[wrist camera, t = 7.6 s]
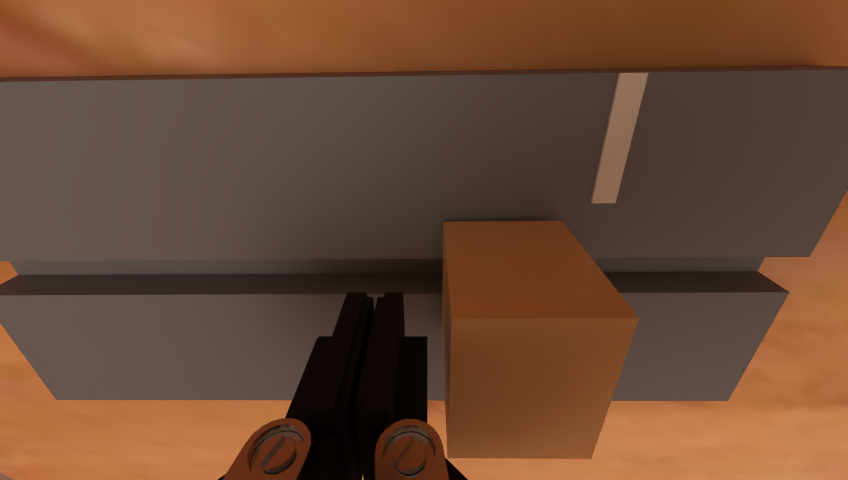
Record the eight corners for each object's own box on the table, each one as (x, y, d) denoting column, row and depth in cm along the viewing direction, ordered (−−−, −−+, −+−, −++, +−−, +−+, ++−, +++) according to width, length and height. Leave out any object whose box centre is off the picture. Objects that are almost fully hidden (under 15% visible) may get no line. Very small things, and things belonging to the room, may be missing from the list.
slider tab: (547, 202, 13) (639, 318, 8) (531, 308, 16) (591, 458, 10) (441, 203, 13) (451, 318, 8) (440, 308, 16) (447, 457, 10)
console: (814, 65, 13) (920, 69, 10) (686, 352, 19) (729, 402, 17) (-54, 78, 13) (-179, 84, 11) (106, 353, 20) (54, 401, 17)
